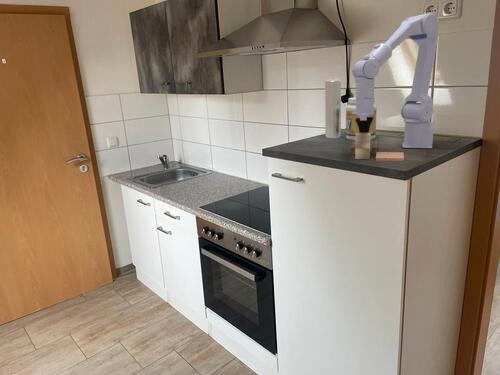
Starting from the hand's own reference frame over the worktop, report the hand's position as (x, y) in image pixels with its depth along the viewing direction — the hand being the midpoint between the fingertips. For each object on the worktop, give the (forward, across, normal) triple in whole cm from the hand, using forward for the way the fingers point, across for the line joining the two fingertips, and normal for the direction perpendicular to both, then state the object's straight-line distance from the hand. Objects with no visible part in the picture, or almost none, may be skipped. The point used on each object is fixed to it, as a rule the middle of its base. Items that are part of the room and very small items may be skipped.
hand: (364, 139), depth 131 cm
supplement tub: (+6, -32, -3) cm, 33 cm away
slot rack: (+5, -6, 0) cm, 8 cm away
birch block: (+5, +5, 0) cm, 7 cm away
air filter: (+6, -36, -15) cm, 40 cm away
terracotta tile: (+5, +5, +8) cm, 11 cm away
